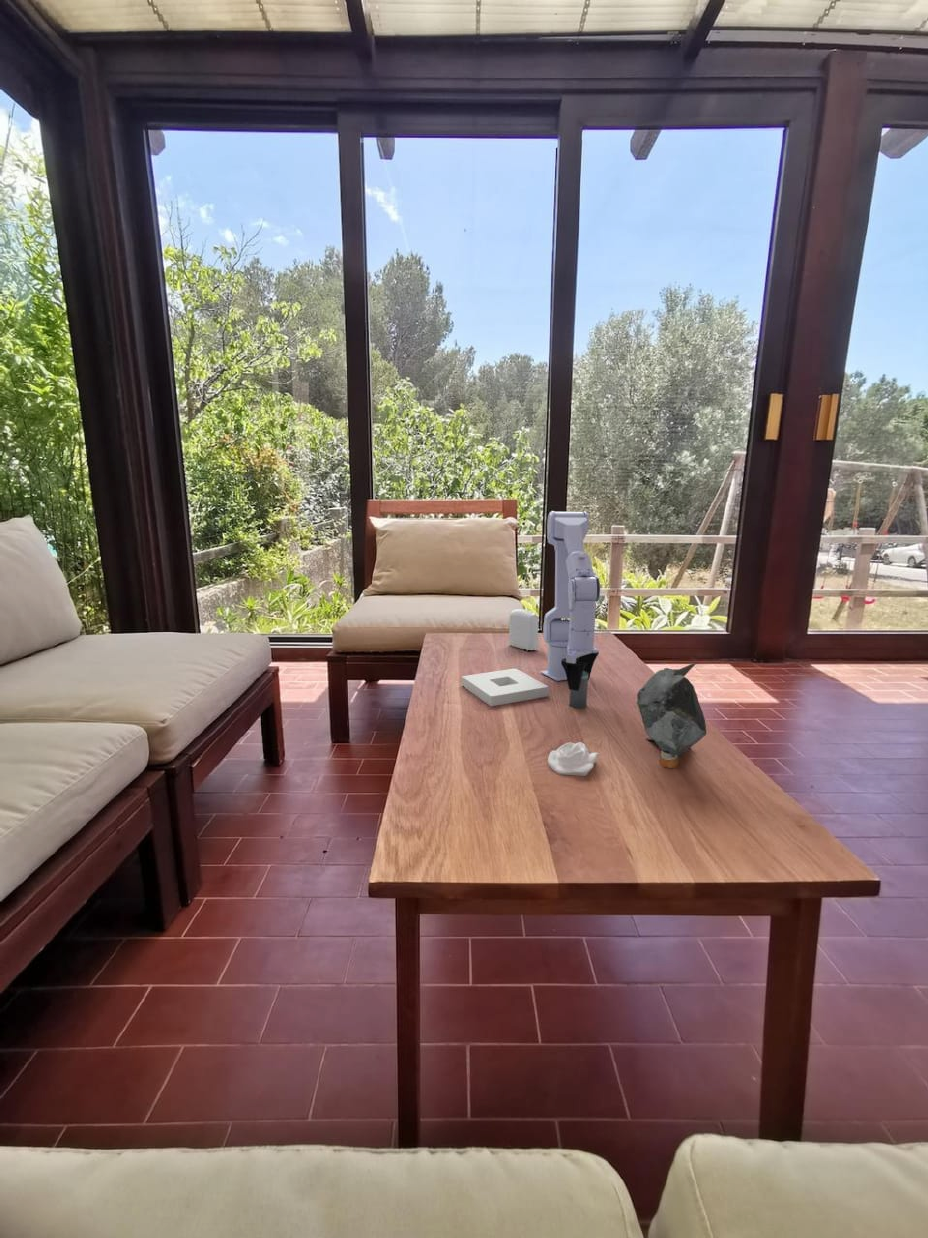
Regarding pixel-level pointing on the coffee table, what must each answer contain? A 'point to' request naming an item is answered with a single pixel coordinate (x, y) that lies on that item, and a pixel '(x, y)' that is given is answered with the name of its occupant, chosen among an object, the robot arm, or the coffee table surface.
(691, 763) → the coffee table surface
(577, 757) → the rose
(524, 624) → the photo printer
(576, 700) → the peg
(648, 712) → the grey rock on stand
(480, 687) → the socket block
